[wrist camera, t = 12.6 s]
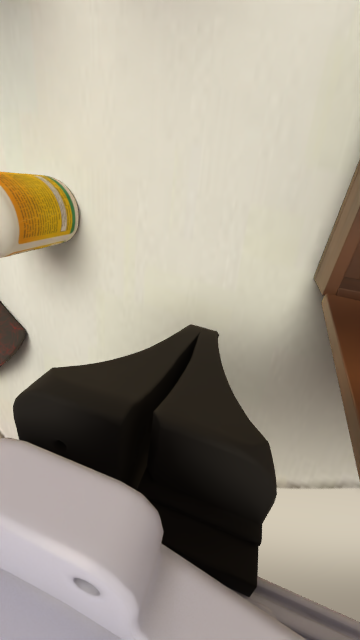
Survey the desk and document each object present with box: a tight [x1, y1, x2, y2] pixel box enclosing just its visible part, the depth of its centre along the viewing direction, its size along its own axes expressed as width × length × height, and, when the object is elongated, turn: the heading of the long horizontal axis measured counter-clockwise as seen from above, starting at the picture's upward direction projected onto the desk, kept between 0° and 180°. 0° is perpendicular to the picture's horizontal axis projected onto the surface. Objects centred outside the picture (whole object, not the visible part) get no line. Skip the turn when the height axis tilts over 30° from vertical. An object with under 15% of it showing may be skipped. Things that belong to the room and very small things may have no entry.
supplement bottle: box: [0, 172, 78, 258], centre depth 19 cm, size 5×5×10 cm
